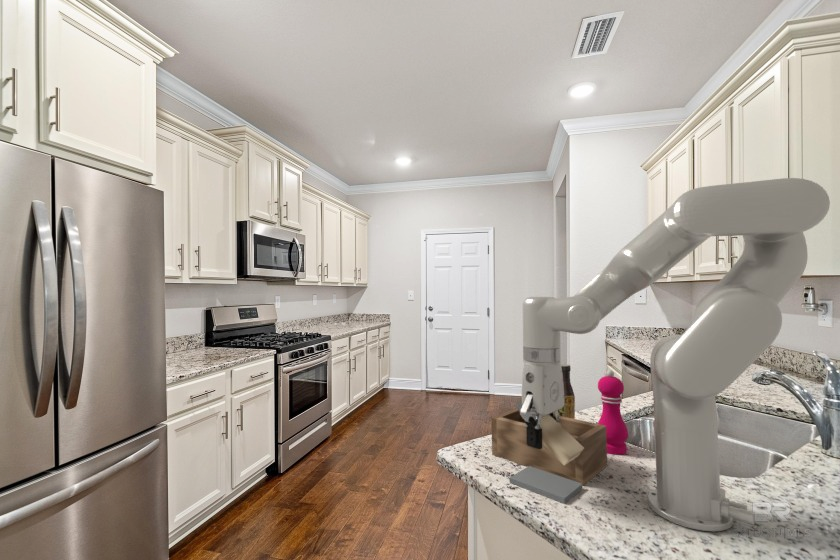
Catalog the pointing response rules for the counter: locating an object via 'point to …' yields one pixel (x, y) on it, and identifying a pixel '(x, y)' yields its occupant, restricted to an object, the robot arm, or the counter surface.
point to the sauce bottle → (567, 394)
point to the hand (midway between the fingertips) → (542, 441)
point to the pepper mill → (613, 413)
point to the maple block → (559, 440)
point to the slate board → (546, 484)
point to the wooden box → (513, 447)
